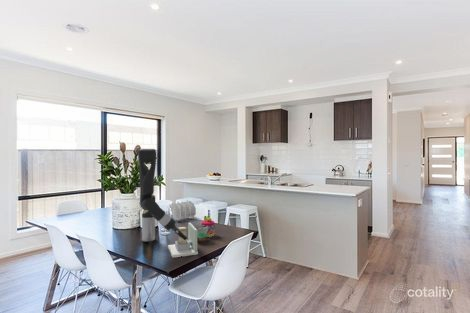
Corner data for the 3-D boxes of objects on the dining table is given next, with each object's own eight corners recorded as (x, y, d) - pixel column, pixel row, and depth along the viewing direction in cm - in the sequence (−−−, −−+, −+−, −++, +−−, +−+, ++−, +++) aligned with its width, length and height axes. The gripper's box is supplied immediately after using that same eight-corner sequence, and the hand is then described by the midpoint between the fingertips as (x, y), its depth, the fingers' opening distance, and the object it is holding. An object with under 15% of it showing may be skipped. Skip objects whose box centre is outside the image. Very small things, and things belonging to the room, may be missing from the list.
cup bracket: (167, 247, 185) (167, 224, 185) (191, 244, 191) (191, 222, 191) (172, 257, 167) (172, 232, 166) (198, 254, 172) (198, 229, 172)
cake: (217, 235, 213) (217, 216, 213) (207, 238, 205) (207, 218, 205) (208, 232, 220) (208, 214, 220) (198, 235, 212) (198, 216, 212)
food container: (196, 244, 192) (196, 230, 192) (192, 241, 197) (192, 228, 197) (211, 240, 199) (211, 227, 199) (207, 238, 204) (207, 225, 204)
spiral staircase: (195, 221, 272) (175, 225, 253) (185, 211, 283) (165, 214, 263) (201, 206, 268) (181, 208, 249) (191, 196, 278) (171, 198, 259)
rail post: (178, 245, 180) (178, 227, 180) (185, 244, 182) (185, 226, 182) (179, 247, 176) (179, 229, 176) (186, 246, 177) (186, 228, 177)
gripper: (172, 219, 169) (191, 236, 174) (169, 214, 182) (187, 230, 187) (163, 228, 167) (183, 245, 172) (161, 223, 180) (179, 239, 185)
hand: (185, 237), depth 179 cm, fingers closed on rail post, 4 cm apart
